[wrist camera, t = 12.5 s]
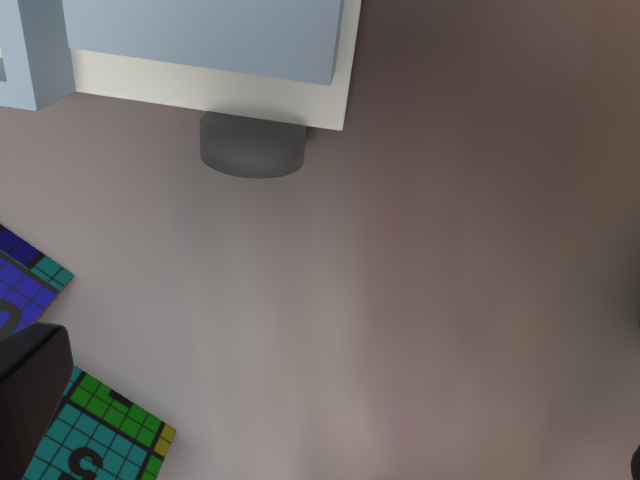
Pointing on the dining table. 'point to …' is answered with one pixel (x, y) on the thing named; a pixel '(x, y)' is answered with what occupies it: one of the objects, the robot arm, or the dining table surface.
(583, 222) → the dining table surface
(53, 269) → the block puzzle
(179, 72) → the chassis
